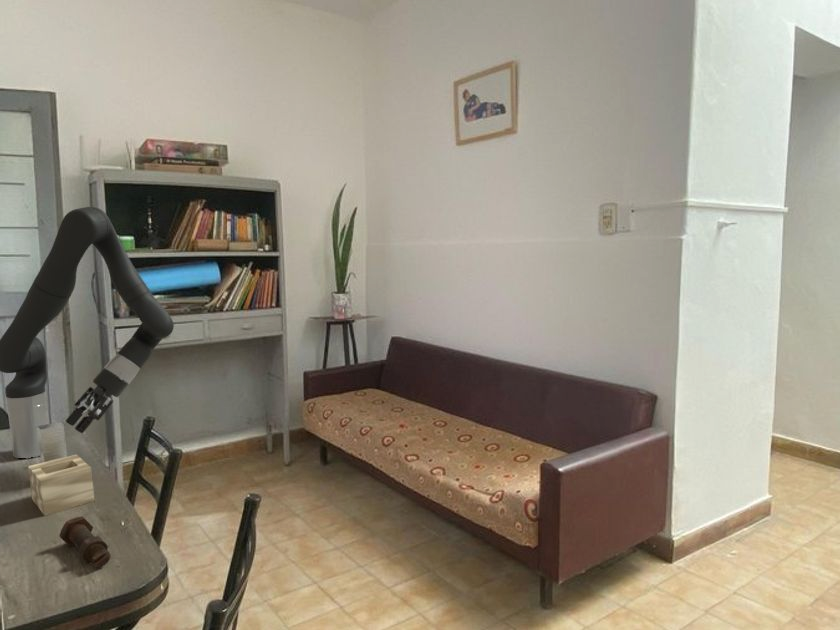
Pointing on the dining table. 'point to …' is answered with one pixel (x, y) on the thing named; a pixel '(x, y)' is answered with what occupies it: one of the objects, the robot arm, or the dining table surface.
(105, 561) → the bolt
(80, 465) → the open beige box
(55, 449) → the tall grey square pillar
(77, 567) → the dining table surface
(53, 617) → the dining table surface
